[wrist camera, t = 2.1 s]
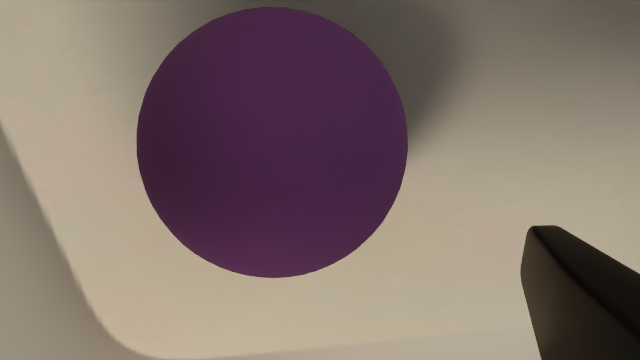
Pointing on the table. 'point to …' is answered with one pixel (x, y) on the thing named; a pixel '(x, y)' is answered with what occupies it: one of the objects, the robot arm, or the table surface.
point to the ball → (272, 142)
